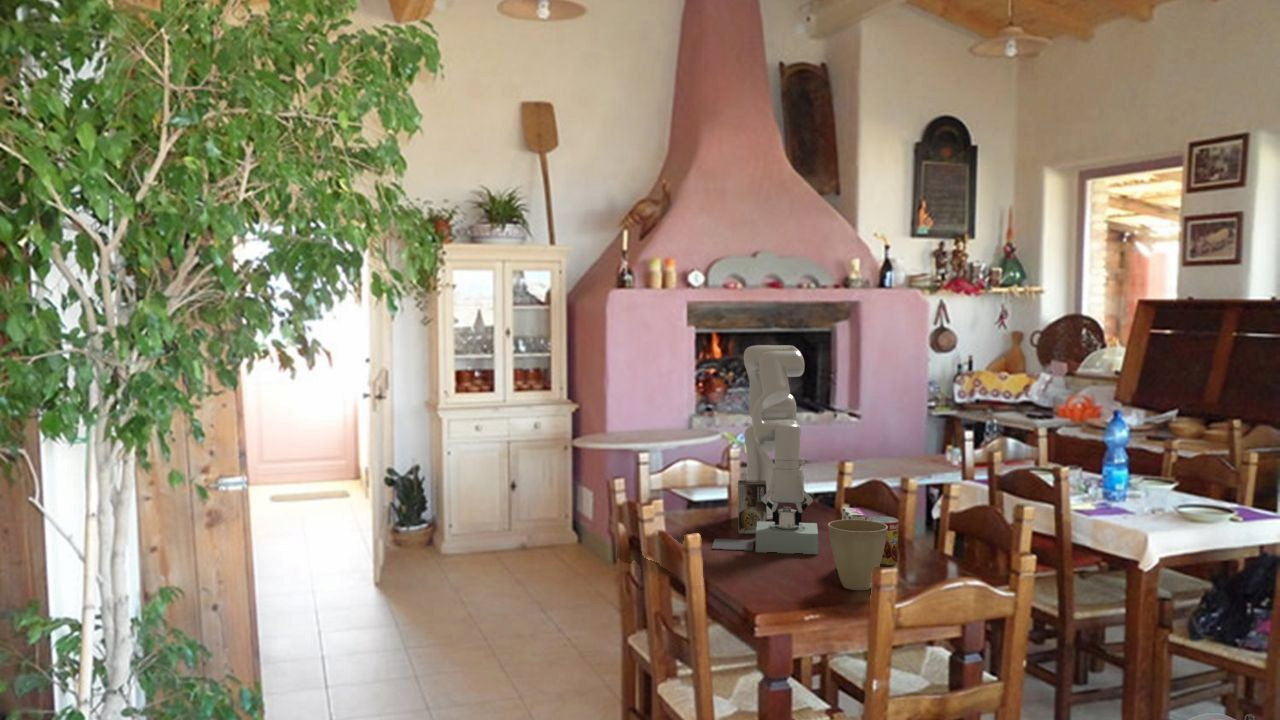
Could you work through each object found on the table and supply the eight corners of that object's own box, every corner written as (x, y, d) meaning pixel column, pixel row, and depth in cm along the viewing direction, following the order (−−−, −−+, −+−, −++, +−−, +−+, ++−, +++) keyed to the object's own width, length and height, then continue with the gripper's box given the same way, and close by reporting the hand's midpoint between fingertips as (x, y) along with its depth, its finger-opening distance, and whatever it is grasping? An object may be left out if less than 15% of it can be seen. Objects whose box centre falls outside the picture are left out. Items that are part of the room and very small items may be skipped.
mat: (714, 539, 294) (714, 538, 294) (753, 541, 292) (753, 540, 292) (711, 549, 282) (711, 548, 282) (752, 551, 281) (752, 549, 280)
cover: (777, 538, 288) (777, 505, 288) (796, 538, 287) (796, 505, 287) (776, 542, 282) (777, 509, 282) (796, 543, 281) (796, 509, 281)
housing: (757, 540, 293) (757, 521, 293) (816, 542, 290) (816, 523, 290) (755, 552, 279) (755, 531, 279) (818, 554, 277) (818, 533, 276)
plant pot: (899, 588, 243) (900, 526, 242) (859, 598, 234) (860, 534, 233) (854, 575, 255) (855, 516, 254) (815, 584, 246) (815, 523, 246)
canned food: (898, 565, 264) (899, 522, 264) (869, 564, 266) (870, 521, 265) (896, 558, 272) (897, 516, 271) (868, 557, 273) (868, 515, 273)
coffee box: (766, 529, 308) (766, 480, 307) (766, 534, 302) (767, 483, 301) (737, 528, 309) (738, 479, 308) (738, 533, 303) (738, 483, 302)
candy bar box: (866, 576, 254) (867, 515, 253) (847, 576, 254) (848, 515, 253) (858, 565, 265) (859, 506, 264) (840, 565, 265) (840, 506, 264)
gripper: (816, 463, 286) (815, 522, 287) (758, 461, 289) (758, 520, 290) (817, 467, 279) (816, 528, 279) (757, 466, 281) (757, 526, 282)
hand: (786, 523), depth 285 cm, fingers closed on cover, 5 cm apart
